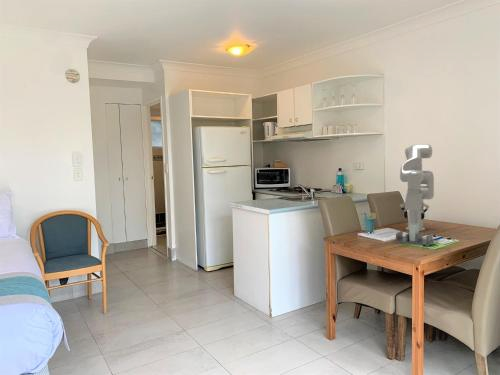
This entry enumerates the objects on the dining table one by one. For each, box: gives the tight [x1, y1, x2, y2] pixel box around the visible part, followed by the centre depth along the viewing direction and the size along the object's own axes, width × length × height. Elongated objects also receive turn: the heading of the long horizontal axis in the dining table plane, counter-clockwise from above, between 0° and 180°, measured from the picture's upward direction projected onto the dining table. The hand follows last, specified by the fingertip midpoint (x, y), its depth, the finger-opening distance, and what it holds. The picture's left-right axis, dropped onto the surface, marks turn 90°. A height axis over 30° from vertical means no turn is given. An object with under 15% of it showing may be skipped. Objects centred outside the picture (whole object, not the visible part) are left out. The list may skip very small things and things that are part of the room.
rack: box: [394, 230, 435, 247], centre depth 243 cm, size 13×20×6 cm, turn 52°
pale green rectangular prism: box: [408, 223, 420, 241], centre depth 242 cm, size 8×4×10 cm, turn 142°
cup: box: [360, 212, 377, 233], centre depth 275 cm, size 14×8×15 cm, turn 121°
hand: (414, 218), depth 242 cm, fingers open, 9 cm apart
